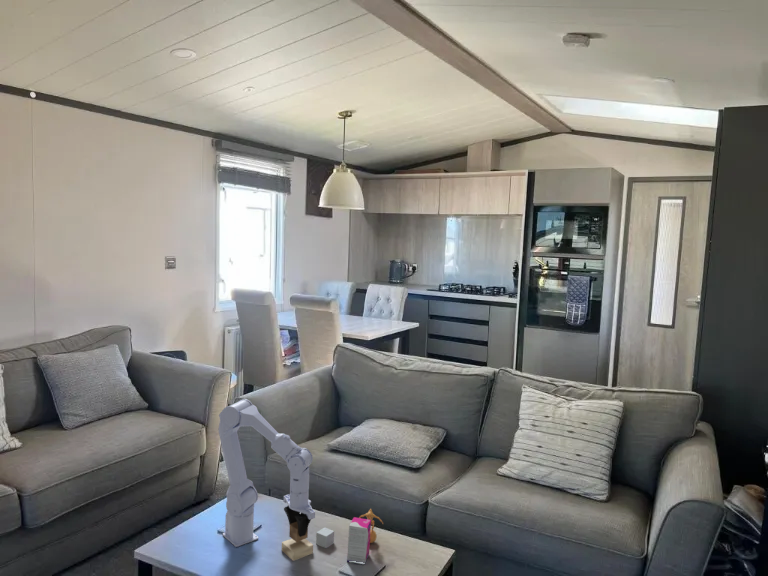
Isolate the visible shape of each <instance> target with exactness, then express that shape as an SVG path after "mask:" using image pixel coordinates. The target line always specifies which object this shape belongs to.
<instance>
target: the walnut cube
mask: <svg viewBox="0 0 768 576" xmlns="http://www.w3.org/2000/svg"><path fill="white" fill-rule="evenodd" d="M308 529H309V527H308V528H307V532H306V535H304V536H301V537H300V536H299V534H298V524H297V522H294V523H292V524H290V525H289V532H288V533H289V534H288V538H290V539H293V540H295V541H296V542H298V541H301V540H303V539H308V537H309V536H308V535H309V533H308V532H309V530H308Z"/></svg>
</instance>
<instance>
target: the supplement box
mask: <svg viewBox="0 0 768 576" xmlns="http://www.w3.org/2000/svg"><path fill="white" fill-rule="evenodd" d="M371 530H372V524H371V520H368V519H367V518H363V517H361V518H359V517H355V516H354V517H353V518H352V520H351V521H350V524H349V527H348V539H347V541H348V542H347V553H346V554H347V556H346V562H347V563H349V561H356V562H363V563H365V562H366V563H367V560H368V558H369V555H370V546H371V545H370V544H371V543H370V531H371ZM366 559H367V560H366ZM366 563H365V564H366Z"/></svg>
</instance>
